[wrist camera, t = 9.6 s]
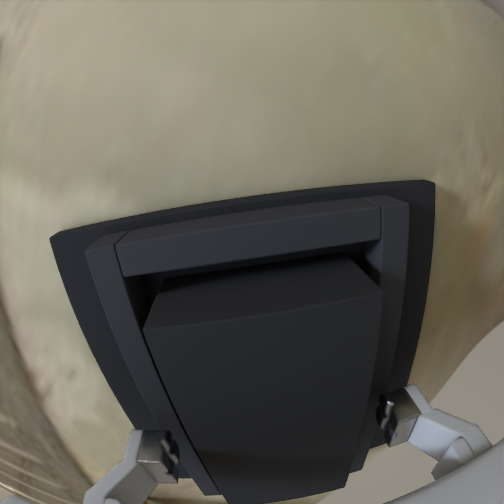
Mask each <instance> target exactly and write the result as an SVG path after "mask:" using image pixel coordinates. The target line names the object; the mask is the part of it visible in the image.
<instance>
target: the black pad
mask: <svg viewBox="0 0 504 504" xmlns="http://www.w3.org/2000/svg"><path fill="white" fill-rule="evenodd" d="M383 298H384V292H383V290H382V289H381V288H380V287H379V286H378V285H377V284H376V283H375V282H374V281H373V280H372V279H371V278H370V277H369V276H368V275H367V274H366V273H365V272H364V271H363V270H362V269H360V268H359V267H358V266H357V265H356V264H355V263H354V262H353V261H352V260H351V259H350V258H349V257H348V256H347V255H346V254H345V253H344V252H338V253H332V254H326V255H319V256H313V257H307V258H300V259H294V260H287V261H281V262H274V263H267V264H261V265H254V266H247V267H241V268H234V269H227V270H220V271H213V272H206V273H199V274H192V275H185V276H178V277H171V278H164V279H163V282H162V284H161V286H160V289H159V291H158V293H157V296H156V298H155V301H154V303H153V305H152V308H151V310H150V313H149V315H148V318H147V320H146V323H145V325H144V328H143V332H144V335H145V337H146V340H147V343H148V345H149V348H150V351H151V353H152V356H153V358H154V361H155V363H156V366H157V368H158V371H159V373H160V375H161V378H162V380H163V382H164V385H165V387H166V389H167V391H168V394H169V396H170V398H171V400H172V403H173V405H174V407H175V409H176V411H177V413H178V415H179V417H180V419H181V421H182V423H183V425H184V427H185V429H186V431H187V433H188V435H189V437H190V439H191V441H192V443H193V445H194V447H195V449H196V451H197V452H198V454H199V456H200V458H201V460H202V461H203V463H204V465H205V467H206V469H207V470H208V472H209V474H210V475H211V477H212V479H213V480H214V482H215V484H216V485H217V487H218V489H219V490H220V492H221V494H222V495H223V497H224V498H225V500H226V501H227V503H228V504H264V503H272V502H279V501H285V500H291V499H296V498H302V497H307V496H311V495H316V494H320V493H325V492H329V491H333V490H336V489H340V488H344V487H345V485H346V482H347V479H348V475H349V472H350V469H351V466H352V462H353V459H354V456H355V452H356V449H357V445H358V441H359V437H360V434H361V430H362V426H363V421H364V417H365V413H366V408H367V404H368V399H369V394H370V389H371V384H372V379H373V373H374V367H375V361H376V355H377V349H378V342H379V334H380V326H381V318H382V308H383Z"/></svg>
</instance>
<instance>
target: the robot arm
mask: <svg viewBox="0 0 504 504" xmlns="http://www.w3.org/2000/svg"><path fill="white" fill-rule="evenodd" d="M378 401H379V403H380V405H379V406H378V407H377V408H376V412H375V414H376V421H377V424H378V426H379V428H381V429H383V430H384V431H385V432H384V435H383V436H384V438H385V440H386V442H387V444H388V446H389V447H392V446H395V445H398V444H400V443H403V442H406V441H408V443H410V444H411V445H413V446H415V447H416V448H418V449H419V450H421V451H423V452H424V453H426V454H428V455H429V456H431V457H432V458H434V459H436V460H437V461H439V462H438V463H437V465H436V466H435V467H434V469H433V470H432V475H433V477H434V479H435V481H434V482H432V483H430V484H428V485H426V486H424V487H422V488H419V489H417V490H415V491H413V492H411V493H409V494H406V495H404V496H401V497H399V498H397V499H394V500H392V501H389V502H386V503H384V504H504V438H503V439H502V440H500V441H499V442H498V443H496V444H495V445H493V446H492V444H491V443H490V441H489V440H488V438H487V437H486V436H485V434H484V433H483V431H482V430H481V429H480V427H479V426H478V425H475V424H472V423H470V422H468V421H465V420H463V419H460V418H458V417H455V416H453V415H450V414H448V413H446V412H443V411H441V410H439V409H432V407H431V406H430V404H429V403H428V401H427V400H426V398H425V397H424V396H423V394H422V393H421V391H420V390H419V388H418V387H417V386H416V385H415V384H410V385H408V386H405V387H403V388H402V387H401V388H399V389H396V390H393V391H390V392H388V393H385V394H382V395H380V397H379V400H378ZM179 461H180V452H179V447H178V444H177V442H176V441H175V440H173V439H172V434H171V432H170V431H169V430H137V429H132V431H131V432H130V436H129V440H128V444H127V448H126V452H125V457H124V461H120V462H119V463H118V464H117V465H116V466H115V467H113V468H112V469H111V470H110V471H109V472H108V473H107V474H106V475H105V476H104V477H103V478H101V479H100V480H99V481H98V482H97V483H96V484H95V485H94V486H93V487H91V488H90V489H89V490H88V491H87V492H86V493H85V497H84V501H83V504H143V503H144V502H145V500H146V499H147V498H148V496H149V495H150V494H151V493H152V491H153V490H154V489H155V487H156V486H157V485H158V484H157V483H171V484H178V473H179V470H178V469H177V467H176V465H177V463H178V462H179ZM0 504H37V503H35V502H32V501H30V500H27V499H25V498H23V497H20V496H18V495H11V496H8V497H6V498H5V499H3V500H1V501H0Z"/></svg>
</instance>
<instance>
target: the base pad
mask: <svg viewBox="0 0 504 504" xmlns="http://www.w3.org/2000/svg"><path fill="white" fill-rule="evenodd" d="M434 219H435V183H434V182H431V181H427V180H409V181H393V182H379V183H366V184H354V185H343V186H333V187H323V188H313V189H304V190H295V191H287V192H279V193H271V194H263V195H256V196H248V197H241V198H234V199H228V200H221V201H214V202H208V203H202V204H196V205H190V206H184V207H178V208H172V209H166V210H161V211H155V212H150V213H145V214H139V215H134V216H129V217H124V218H119V219H114V220H109V221H105V222H100V223H95V224H91V225H86V226H82V227H77V228H73V229H69V230H64V231H60V232H58V233H56V234H55V235H53V236H51V237H50V243H51V246H52V250H53V253H54V257H55V260H56V263H57V266H58V269H59V272H60V275H61V278H62V281H63V284H64V287H65V289H66V292H67V295H68V297H69V300H70V303H71V305H72V308H73V310H74V313H75V315H76V317H77V320H78V322H79V325H80V327H81V329H82V331H83V334H84V336H85V338H86V340H87V343H88V345H89V347H90V349H91V351H92V353H93V355H94V357H95V359H96V361H97V363H98V365H99V367H100V369H101V371H102V373H103V375H104V377H105V379H106V380H107V382H108V384H109V386H110V388H111V389H112V391H113V393H114V395H115V396H116V398H117V400H118V402H119V403H120V405H121V407H122V408H123V410H124V412H125V413H126V415H127V416H128V418H129V420H130V421H131V423H132V424H133V426H134V427H135V429H137V430H169V431H170V432H171V434H172V439H173V440H175V441H176V442H177V444H178V447H179V452H180V461H179V462H178V463H177V465H176V467H177V469H178V470H179V473H178V478H192V479H193V480H194V482H195V483H196V484H197V486H198V487H199V488H200V490H201V491H202V492H203V494H204V495H205V496H207V495H221V492H220V490H219V489H218V487H217V485H216V484H215V482H214V480H213V479H212V477H211V475H210V474H209V472H208V470H207V469H206V467H205V465H204V463H203V461H202V460H201V458H200V456H199V454H198V452H197V451H196V449H195V447H194V445H193V443H192V441H191V439H190V437H189V435H188V433H187V431H186V429H185V427H184V425H183V423H182V421H181V419H180V417H179V415H178V413H177V411H176V409H175V407H174V405H173V403H172V400H171V398H170V396H169V394H168V391H167V389H166V387H165V385H164V382H163V380H162V378H161V375H160V373H159V371H158V368H157V366H156V363H155V361H154V358H153V356H152V353H151V351H150V348H149V345H148V343H147V340H146V337H145V335H144V332H143V328H144V325H145V323H146V320H147V318H148V315H149V313H150V310H151V308H152V305H153V303H154V301H155V298H156V296H157V293H158V291H159V289H160V286H161V284H162V282H163V279H164V278H171V277H178V276H185V275H192V274H199V273H206V272H213V271H220V270H227V269H234V268H241V267H247V266H254V265H261V264H267V263H274V262H281V261H287V260H294V259H300V258H307V257H313V256H319V255H326V254H332V253H338V252H344V253H345V254H346V255H347V256H348V257H349V258H350V259H351V260H352V261H353V262H354V263H355V264H356V265H357V266H358V267H359V268H360V269H362V270H363V271H364V272H365V273H366V274H367V275H368V276H369V277H370V278H371V279H372V280H373V281H374V282H375V283H376V284H377V285H378V286H379V287H380V288H381V289H382V290H383V292H384V298H383V308H382V318H381V326H380V334H379V342H378V349H377V355H376V361H375V367H374V373H373V379H372V384H371V389H370V394H369V399H368V404H367V408H366V413H365V417H364V421H363V426H362V430H361V434H360V437H359V441H358V445H357V449H356V452H355V456H354V459H353V462H352V466H351V469H350V472H349V473H352V472H356V471H359V470H362V468H363V465H364V462H365V459H366V457H367V454H368V451H369V449H371V448H374V447H377V446H380V445H383V444H385V443H387V442H386V440H385V438H384V436H383V435H384V432H385V431H384V430H383V429H381V428H379V426H378V424H377V421H376V414H375V412H376V408H377V407H378V406H379V405H380V403H379V401H378V400H379V397H380V395H382V394H385V393H388V392H390V391H393V390H396V389H399V388H401V387H402V388H403V387H405V386H407V382H408V379H409V375H410V372H411V368H412V364H413V360H414V356H415V352H416V348H417V344H418V339H419V335H420V330H421V325H422V320H423V315H424V309H425V303H426V297H427V291H428V284H429V276H430V268H431V259H432V249H433V236H434Z"/></svg>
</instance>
